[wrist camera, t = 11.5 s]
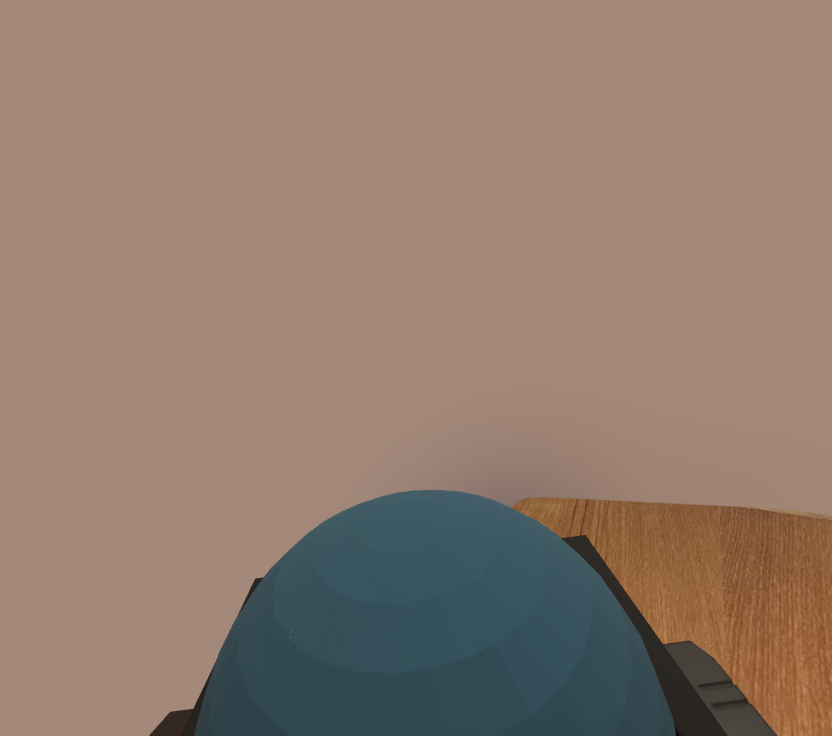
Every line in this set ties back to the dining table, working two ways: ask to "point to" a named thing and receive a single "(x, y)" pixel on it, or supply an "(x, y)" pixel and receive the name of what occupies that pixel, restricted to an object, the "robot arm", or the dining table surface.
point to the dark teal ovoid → (433, 633)
